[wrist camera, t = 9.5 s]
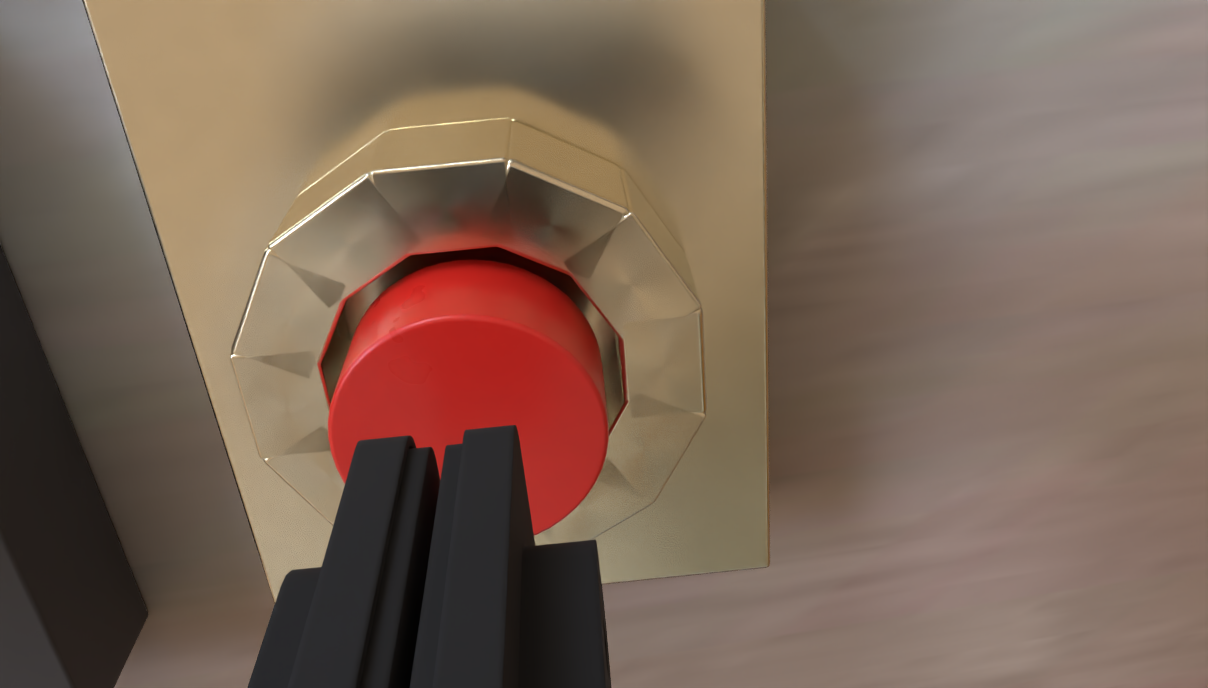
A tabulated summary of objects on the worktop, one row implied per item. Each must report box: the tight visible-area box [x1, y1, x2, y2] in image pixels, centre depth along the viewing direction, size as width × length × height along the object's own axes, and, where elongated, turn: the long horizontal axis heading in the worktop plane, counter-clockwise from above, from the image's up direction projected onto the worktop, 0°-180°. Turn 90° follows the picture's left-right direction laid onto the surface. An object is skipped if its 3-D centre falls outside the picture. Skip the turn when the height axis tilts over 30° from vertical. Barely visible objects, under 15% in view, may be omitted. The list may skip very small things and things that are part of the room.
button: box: [328, 260, 609, 536], centre depth 14 cm, size 4×4×2 cm
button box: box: [82, 0, 770, 603], centre depth 16 cm, size 11×9×4 cm
